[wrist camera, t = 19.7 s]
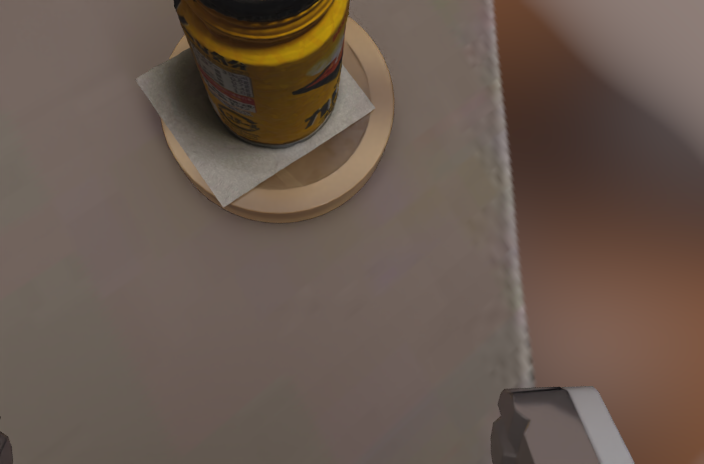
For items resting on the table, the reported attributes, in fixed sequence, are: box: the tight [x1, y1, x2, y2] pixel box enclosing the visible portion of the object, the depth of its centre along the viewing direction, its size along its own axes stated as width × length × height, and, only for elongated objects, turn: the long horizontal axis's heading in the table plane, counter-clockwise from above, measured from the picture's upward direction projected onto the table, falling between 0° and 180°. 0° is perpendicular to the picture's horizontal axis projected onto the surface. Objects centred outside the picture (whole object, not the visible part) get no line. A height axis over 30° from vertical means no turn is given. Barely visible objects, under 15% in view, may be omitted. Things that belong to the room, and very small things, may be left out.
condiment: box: [135, 0, 375, 207], centre depth 25 cm, size 7×8×12 cm
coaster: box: [160, 16, 394, 223], centre depth 32 cm, size 11×11×2 cm
